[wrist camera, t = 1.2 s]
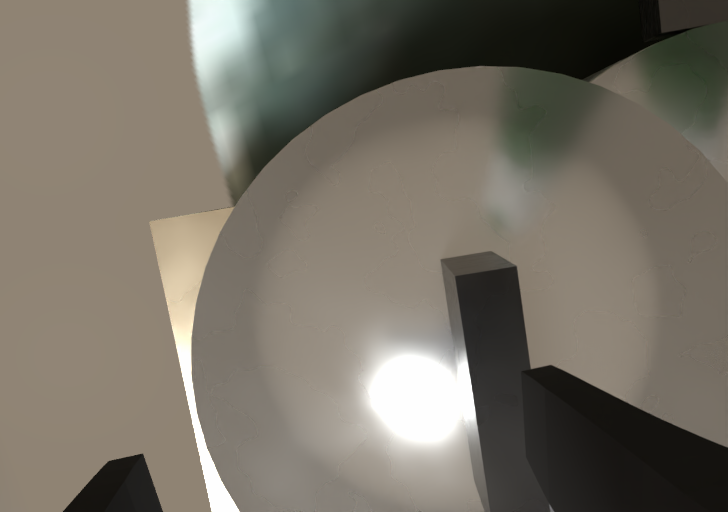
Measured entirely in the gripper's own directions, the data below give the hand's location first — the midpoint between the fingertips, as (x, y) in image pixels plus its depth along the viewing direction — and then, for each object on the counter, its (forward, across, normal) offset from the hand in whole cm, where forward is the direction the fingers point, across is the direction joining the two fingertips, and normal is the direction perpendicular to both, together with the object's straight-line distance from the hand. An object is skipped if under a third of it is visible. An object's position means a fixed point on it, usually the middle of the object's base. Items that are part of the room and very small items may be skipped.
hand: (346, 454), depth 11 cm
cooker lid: (+6, -5, +3) cm, 8 cm away
